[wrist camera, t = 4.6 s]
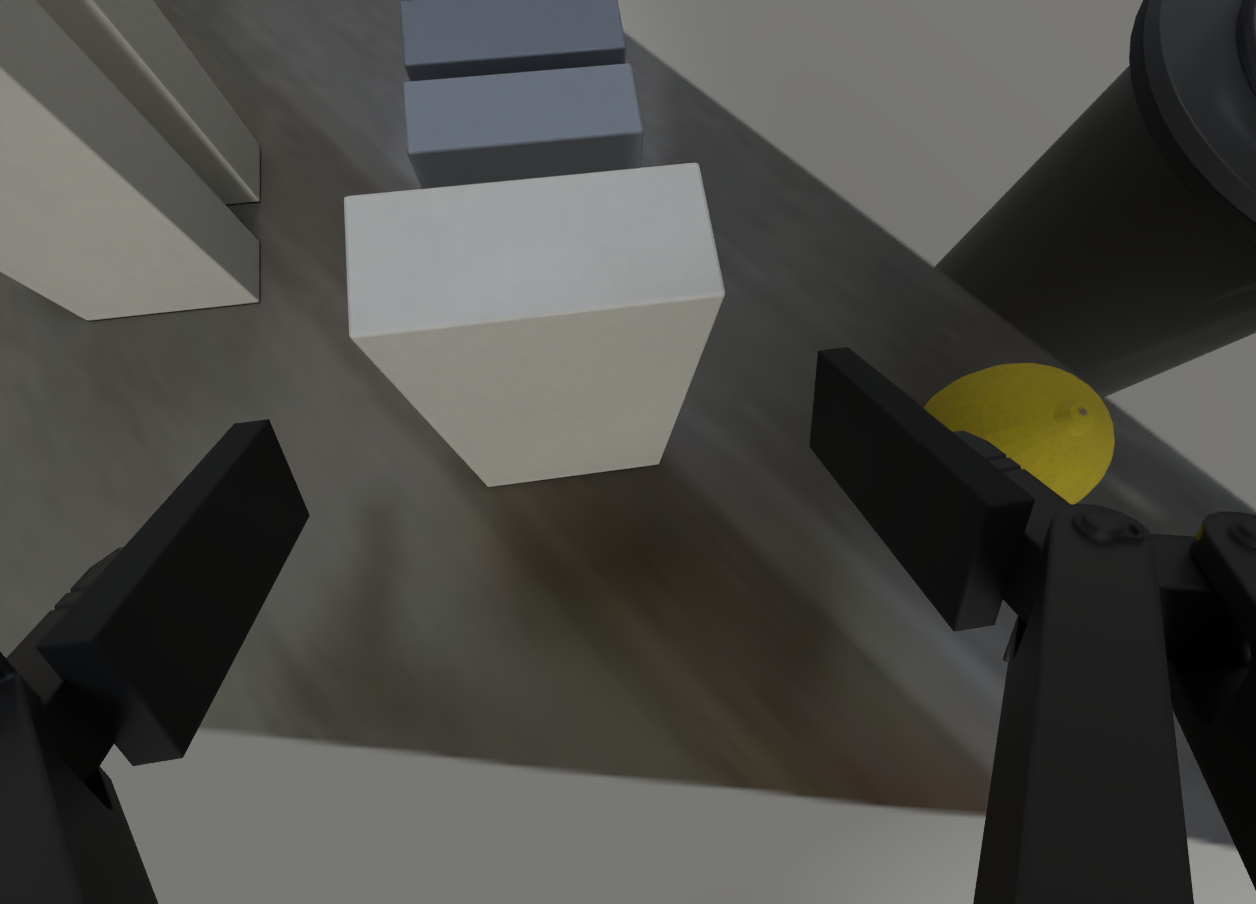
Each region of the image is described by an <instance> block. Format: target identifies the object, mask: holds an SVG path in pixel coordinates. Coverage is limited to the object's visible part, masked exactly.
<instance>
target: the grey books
mask: <svg viewBox="0 0 1256 904" xmlns="http://www.w3.org/2000/svg"><path fill="white" fill-rule="evenodd" d="M400 8H401V22H402V37H403V51H404V65H405V68H406V71H407V74H408V76H409V79H410V82H404V83H403V97H404V112H405V126H406V141H407V153H408V156H409V158H410V161H411V163H412V165H413V168H414V170H415V172H416V175H417V177H418V179H419V182H420V184H421V186H422V189H427V188H438V187H448V186H458V185H469V184H479V183H490V182H500V181H510V180H521V179H531V178H542V177H552V176H562V175H573V174H583V173H593V172H604V171H614V170H625V169H635V168H640V166H641V154H642V142H643V126H642V121H641V115H640V109H639V104H638V98H637V93H636V87H635V82H634V76H633V71H632V66H631V64H629V63H626V64H625V56H626V45H625V40H624V34H623V29H622V23H621V17H620V12H619V6H618V1H617V0H406V1H401V2H400Z"/></svg>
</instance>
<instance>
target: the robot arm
mask: <svg viewBox="0 0 1256 904" xmlns="http://www.w3.org/2000/svg"><path fill="white" fill-rule="evenodd" d="M1237 44H1238V50H1239V56H1240V59H1241V63H1242V66H1243V69H1244V72H1245V75H1246V77H1247V79H1248V81H1249V84H1250V86H1251V87H1252V89H1253V91H1254V93H1255V95H1256V0H1244V1H1243V4H1242V6H1241V9H1240V13H1239V17H1238V23H1237ZM810 448H811V449H812V451H813V452H814V453H815V455H816V456H817V457H818V458H819V460H820V461H821V462H822V463H823V465H824V466H825V467H826V469H827V470H828V471H829V472H830V474H831V475H832V476H833V478H834V479H835V480H836V481H837V483H838V484H839V485H840V487H841V488H842V489H843V490H844V492H845V493H846V494H847V495H848V497H849V498H850V499H851V501H852V502H853V503H854V504H855V506H856V507H857V508H858V510H859V511H860V512H861V513H862V515H863V516H864V517H865V518H866V520H867V521H868V522H869V524H870V525H871V526H872V527H873V529H874V530H875V531H876V533H877V534H878V535H879V536H880V538H881V539H882V540H883V542H884V543H885V544H886V545H887V547H888V548H889V549H890V550H891V552H892V553H893V554H894V556H895V557H896V558H897V559H898V561H899V562H900V563H901V565H902V566H903V567H904V568H905V570H906V571H907V572H908V573H909V575H910V576H911V577H912V579H913V580H914V581H915V582H916V584H917V585H918V586H919V588H920V589H921V590H922V591H923V593H924V594H925V595H926V597H927V598H928V599H929V600H930V602H931V603H932V604H933V605H934V607H935V608H936V609H937V611H938V612H939V613H940V614H941V616H942V617H943V618H944V620H945V621H946V622H947V623H948V625H949V626H950V627H951V629H952V630H953V631H960V630H966V629H972V628H979V627H985V626H991V625H995V622H996V619H997V616H998V612H999V609H1000V606H1001V603H1002V600H1004V601H1005V602H1006V603H1007V604H1008V605H1009V606H1010V607H1011V608H1012V609H1013V610H1014V611H1015V613H1016V614H1017V615H1018V617H1017V620H1016V623H1015V625H1014V628H1013V631H1012V634H1011V637H1010V640H1009V643H1008V646H1007V648H1006V651H1005V654H1004V657H1003V660H1004V661H1007V662H1008V667H1007V674H1006V681H1005V688H1004V695H1003V702H1002V709H1001V716H1000V723H999V730H998V737H997V744H996V750H995V757H994V764H993V771H992V778H991V785H990V792H989V799H988V806H987V813H986V820H985V827H984V833H983V840H982V848H981V854H980V861H979V868H978V876H977V882H976V889H975V896H974V903H973V904H1194V900H1193V892H1192V882H1191V874H1190V864H1189V855H1188V846H1187V837H1186V828H1185V819H1184V810H1183V801H1182V792H1181V783H1180V774H1179V765H1178V756H1177V747H1176V738H1175V729H1174V720H1173V711H1174V713H1175V715H1176V717H1177V720H1178V722H1179V724H1180V726H1181V728H1182V730H1183V733H1184V735H1185V737H1186V739H1187V741H1188V744H1189V746H1190V748H1191V750H1192V752H1193V754H1194V757H1195V759H1196V761H1197V763H1198V765H1199V768H1200V770H1201V772H1202V774H1203V776H1204V778H1205V781H1206V783H1207V785H1208V787H1209V789H1210V791H1211V794H1212V796H1213V798H1214V800H1215V802H1216V805H1217V807H1218V809H1219V811H1220V813H1221V815H1222V818H1223V820H1224V822H1225V824H1226V826H1227V829H1228V831H1229V833H1230V835H1231V837H1232V839H1233V842H1234V844H1235V846H1236V848H1237V850H1238V852H1239V855H1240V857H1241V859H1242V861H1243V863H1244V866H1245V868H1246V870H1247V872H1248V874H1249V876H1250V879H1251V881H1252V883H1253V885H1254V887H1255V890H1256V515H1252V514H1247V513H1241V512H1218V513H1214V514H1211V515H1208V516H1207V517H1206V518H1205V520H1204V521H1203V522H1202V524H1201V526H1200V528H1199V530H1198V532H1197V534H1196V536H1195V537H1190V536H1175V535H1160V534H1150V532H1149V530H1148V529H1146V528H1145V527H1144V526H1143V525H1142V524H1140V523H1139V522H1138V521H1137V520H1135V519H1133V518H1131V517H1129V516H1127V515H1125V514H1123V513H1121V512H1118V511H1115V510H1112V509H1109V508H1105V507H1102V506H1096V505H1088V504H1073V505H1071V504H1070V503H1069V502H1067V501H1066V500H1065V499H1063V498H1062V497H1061V496H1059V495H1058V494H1057V493H1056V492H1054V491H1053V490H1052V489H1050V488H1049V487H1048V486H1046V485H1045V484H1044V483H1042V482H1041V481H1040V480H1039V479H1037V478H1036V477H1035V476H1033V475H1032V474H1031V473H1029V472H1028V471H1027V470H1025V469H1021V466H1020V465H1019V464H1018V463H1016V462H1015V461H1014V460H1012V459H1011V458H1007V457H1006V454H1005V453H1003V452H1002V451H1001V450H999V449H998V448H997V447H995V446H994V445H993V444H992V443H990V442H989V441H987V440H985V439H982V438H980V437H978V436H975V435H973V434H971V433H968V432H966V431H964V430H962V431H955V432H952V431H951V430H950V429H948V428H947V427H946V426H945V425H943V424H942V423H941V422H940V421H938V420H937V419H936V418H935V417H933V416H932V415H931V414H930V413H929V412H927V411H926V410H925V409H924V408H922V407H921V406H920V405H919V404H917V403H916V402H915V401H914V400H912V399H911V398H910V397H909V396H908V395H906V394H905V393H904V392H903V391H901V390H900V389H899V388H898V387H896V386H895V385H894V384H893V383H891V382H890V381H889V380H888V379H887V378H885V377H884V376H883V375H882V374H880V373H879V372H878V371H877V370H875V369H874V368H873V367H872V366H870V365H869V364H868V363H867V362H865V361H864V360H863V359H862V358H861V357H859V356H858V355H857V354H856V353H854V352H853V351H852V350H851V349H849V348H848V347H846V348H838V349H830V350H822V351H818V358H817V369H816V380H815V392H814V403H813V414H812V425H811V436H810ZM309 516H310V515H309V513H308V510H307V508H306V506H305V503H304V501H303V499H302V496H301V494H300V491H299V489H298V487H297V484H296V482H295V480H294V477H293V475H292V473H291V470H290V468H289V465H288V463H287V461H286V458H285V456H284V454H283V451H282V449H281V447H280V444H279V442H278V440H277V437H276V435H275V432H274V430H273V428H272V425H271V423H270V421H269V419H267V420H259V421H251V422H243V423H235V424H234V425H233V426H232V427H231V428H230V429H229V430H228V431H227V432H226V434H225V435H224V436H223V437H222V438H221V439H220V440H219V441H218V443H217V444H216V445H215V446H214V447H213V448H212V449H211V450H210V452H209V453H208V454H207V455H206V456H205V457H204V458H203V459H202V460H201V462H200V463H199V464H198V465H197V466H196V467H195V468H194V469H193V471H192V472H191V473H190V474H189V475H188V476H187V477H186V478H185V480H184V481H183V482H182V483H181V484H180V485H179V486H178V487H177V488H176V490H175V491H174V492H173V493H172V494H171V495H170V496H169V497H168V499H167V500H166V501H165V502H164V503H163V504H162V505H161V506H160V507H159V509H158V510H157V511H156V512H155V513H154V514H153V515H152V516H151V518H150V519H149V520H148V521H147V522H146V523H145V524H144V525H143V527H142V528H141V529H140V530H139V531H138V532H137V533H136V534H135V535H134V537H133V538H132V539H131V540H130V541H129V542H128V543H127V544H126V546H125V547H123V548H118V549H117V550H115V551H114V552H112V553H111V554H109V555H108V556H106V557H105V558H104V559H102V560H101V561H99V562H98V563H96V564H95V565H94V566H92V567H91V568H89V570H88V571H87V572H86V573H85V574H84V575H83V576H82V577H81V578H80V579H79V580H78V581H77V583H76V584H75V585H74V586H73V587H72V588H71V593H66V594H65V595H64V597H63V598H62V599H61V600H60V601H59V602H58V603H57V604H56V605H55V606H54V607H55V610H53V611H50V612H49V613H48V614H47V615H46V616H45V617H44V618H43V619H42V620H41V621H40V622H39V624H38V625H37V626H36V627H35V628H34V629H33V630H32V631H31V632H30V633H29V634H28V635H27V637H26V638H25V639H24V640H23V641H22V642H21V643H20V644H19V645H18V646H17V647H16V648H15V649H14V651H13V652H12V653H11V654H10V655H9V656H8V657H7V658H5V657H4V656H3V654H2V653H1V652H0V904H158V902H157V899H156V897H155V894H154V892H153V889H152V886H151V883H150V881H149V878H148V876H147V873H146V870H145V868H144V865H143V862H142V860H141V857H140V854H139V852H138V849H137V847H136V844H135V841H134V839H133V836H132V834H131V831H130V828H129V825H128V823H127V820H126V818H125V815H124V812H123V810H122V807H121V805H120V802H119V800H118V797H117V794H116V791H115V789H114V786H113V783H112V781H111V779H110V778H109V776H108V775H107V774H106V773H105V772H104V771H103V770H102V768H101V767H100V765H101V763H102V761H103V760H104V758H105V757H106V755H107V754H108V752H109V750H110V749H111V747H112V746H113V744H115V745H116V746H117V747H118V749H119V750H120V751H121V752H122V753H123V755H124V756H125V757H126V758H127V759H128V761H129V762H130V763H131V764H132V766H136V765H142V764H148V763H155V762H160V761H167V760H173V759H178V758H183V756H184V754H185V753H186V751H187V749H188V747H189V745H190V743H191V741H192V739H193V737H194V735H195V734H196V732H197V730H198V728H199V726H200V724H201V722H202V720H203V718H204V716H205V714H206V712H207V711H208V709H209V707H210V705H211V703H212V701H213V699H214V697H215V695H216V693H217V691H218V690H219V688H220V686H221V684H222V682H223V680H224V678H225V676H226V674H227V672H228V670H229V668H230V667H231V665H232V663H233V661H234V659H235V657H236V655H237V653H238V651H239V649H240V647H241V646H242V644H243V642H244V640H245V638H246V636H247V634H248V632H249V630H250V628H251V626H252V625H253V623H254V621H255V619H256V617H257V615H258V613H259V611H260V609H261V607H262V605H263V603H264V602H265V600H266V598H267V596H268V594H269V592H270V590H271V588H272V586H273V584H274V582H275V581H276V579H277V577H278V575H279V573H280V571H281V569H282V567H283V565H284V563H285V561H286V560H287V558H288V556H289V554H290V552H291V550H292V548H293V546H294V544H295V542H296V540H297V538H298V537H299V535H300V533H301V531H302V529H303V527H304V525H305V523H306V521H307V519H308V517H309ZM1172 709H1173V711H1172Z"/></svg>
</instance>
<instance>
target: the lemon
mask: <svg viewBox="0 0 1256 904" xmlns="http://www.w3.org/2000/svg"><path fill="white" fill-rule="evenodd" d="M923 408H924V409H925V410H926V411H927V412H929V413H930V414H931V415H932V416H933V417H935V418H936V419H937V420H938V421H940V422H941V423H942V424H943V425H945V426H946V427H947V428H948V429H950V430H951V431H952V432H955V431H962V430H964V431H966V432H968V433H971V434H973V435H975V436H978V437H980V438H982V439H985V440H987V441H989V442H990V443H992V444H993V445H994V446H995V447H997V448H998V449H999V450H1001V451H1002V452H1003V453H1005V454H1006V457H1007V458H1011V459H1012V460H1014V461H1015V462H1016V463H1018V464H1019V465H1020V466H1021V469H1025V470H1027V471H1028V472H1029V473H1031V474H1032V475H1033V476H1035V477H1036V478H1037V479H1039V480H1040V481H1041V482H1042V483H1044V484H1045V485H1046V486H1048V487H1049V488H1050V489H1052V490H1053V491H1054V492H1056V493H1057V494H1058V495H1059V496H1061V497H1062V498H1063V499H1065V500H1066V501H1067V502H1069V503H1070V504H1071V505H1073V504H1075V503H1077V502H1078V501H1080V500H1081V499H1082V498H1084V497H1085V496H1086V495H1087V494H1088V493H1089V492H1090V491H1091V490H1092V489H1093V488H1094V487H1095V486H1096V485H1097V484H1098V483H1099V482H1100V480H1101V479H1102V478H1103V476H1104V474H1105V472H1106V470H1107V468H1108V466H1109V464H1110V462H1111V460H1112V455H1113V450H1114V444H1115V440H1114V428H1113V423H1112V420H1111V417H1110V414H1109V411H1108V409H1107V408H1106V406H1105V404H1104V403H1103V401H1102V399H1101V398H1100V397H1099V396H1098V395H1097V393H1096V392H1095V391H1094V390H1093V389H1092V388H1091V387H1090V386H1089V385H1087V384H1086V383H1084V382H1083V381H1082V380H1080V379H1079V378H1077V377H1076V376H1074V375H1073V374H1071V373H1068V372H1066V371H1063V370H1061V369H1059V368H1056V367H1052V366H1046V365H1041V364H1036V363H1015V364H1003V365H998V366H993V367H990V368H987V369H984V370H981V371H978V372H975V373H971V374H968V375H966V376H964V377H961V378H959V379H958V380H956V381H954V382H953V383H951V384H950V385H948V386H947V387H945V388H944V389H942V390H941V391H939V392H938V393H936V394H935V395H934V396H933V397H932V398H931V399H930V400H929V401H928V403H927V404H926V405H925V406H924V407H923Z"/></svg>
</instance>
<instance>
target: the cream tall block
mask: <svg viewBox="0 0 1256 904" xmlns="http://www.w3.org/2000/svg"><path fill="white" fill-rule="evenodd" d="M344 213H345V239H346V266H347V292H348V318H349V336H350V338H351V339H352V340H353V341H354V342H355V343H356V344H357V345H358V347H359V348H360V349H361V350H362V351H363V352H364V353H365V354H366V355H367V356H368V357H369V358H370V360H371V361H372V362H373V363H374V364H375V365H376V366H377V367H378V368H379V369H380V370H381V371H382V373H383V374H384V375H385V376H386V377H387V378H388V379H389V380H390V381H391V382H392V383H393V384H394V386H395V387H396V388H397V389H398V390H399V391H400V392H401V393H402V394H403V395H404V396H405V397H406V399H407V400H408V401H409V402H410V403H411V404H412V405H413V406H414V407H415V408H416V409H417V410H418V412H419V413H420V414H421V415H422V416H423V417H424V418H425V419H426V420H427V421H428V422H429V423H430V425H431V426H432V427H433V428H434V429H435V430H436V431H437V432H438V433H439V434H440V435H441V436H442V438H443V439H444V440H445V441H446V442H447V443H448V444H449V445H450V446H451V447H452V448H453V449H454V451H455V452H456V453H457V454H458V455H459V456H460V457H461V458H462V459H463V460H464V461H465V463H466V464H467V465H468V466H469V467H470V468H471V469H472V470H473V471H474V472H475V473H476V474H477V476H478V477H479V478H480V479H481V480H482V481H483V482H484V483H485V484H486V485H487V486H488V487H493V486H500V485H508V484H515V483H523V482H530V481H538V480H545V479H553V478H560V477H568V476H575V475H583V474H590V473H598V472H605V471H613V470H620V469H628V468H635V467H643V466H650V465H658V464H659V463H660V460H661V457H662V455H663V452H664V450H665V447H666V445H667V442H668V439H669V437H670V434H671V432H672V429H673V427H674V424H675V421H676V419H677V416H678V414H679V411H680V409H681V406H682V403H683V401H684V398H685V396H686V393H687V391H688V388H689V385H690V383H691V380H692V378H693V375H694V373H695V370H696V367H697V365H698V362H699V360H700V357H701V355H702V352H703V349H704V347H705V344H706V342H707V339H708V337H709V334H710V331H711V329H712V326H713V324H714V321H715V319H716V316H717V313H718V311H719V308H720V306H721V303H722V301H723V298H724V295H725V290H724V285H723V280H722V275H721V270H720V265H719V260H718V255H717V250H716V245H715V241H714V236H713V231H712V226H711V221H710V216H709V211H708V206H707V201H706V196H705V191H704V186H703V181H702V177H701V172H700V167H699V165H698V163H687V164H677V165H666V166H656V167H645V168H635V169H625V170H614V171H604V172H593V173H583V174H573V175H562V176H552V177H542V178H531V179H521V180H510V181H500V182H490V183H479V184H469V185H458V186H448V187H438V188H427V189H417V190H406V191H396V192H386V193H375V194H365V195H355V196H347V197H345V199H344Z"/></svg>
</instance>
